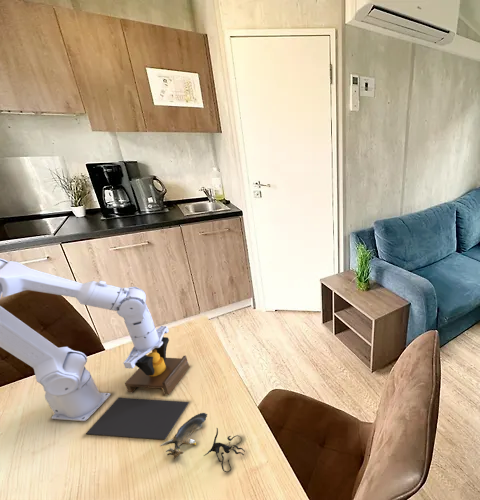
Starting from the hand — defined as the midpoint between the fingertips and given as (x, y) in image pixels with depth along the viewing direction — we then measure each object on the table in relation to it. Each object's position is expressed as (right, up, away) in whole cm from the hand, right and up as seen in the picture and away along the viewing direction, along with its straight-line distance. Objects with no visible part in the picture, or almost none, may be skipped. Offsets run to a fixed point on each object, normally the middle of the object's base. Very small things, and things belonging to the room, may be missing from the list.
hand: (156, 367), depth 83 cm
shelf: (0, -4, +2) cm, 5 cm away
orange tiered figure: (0, -1, +1) cm, 1 cm away
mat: (+2, -9, -9) cm, 13 cm away
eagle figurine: (+18, -12, -15) cm, 26 cm away
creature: (+29, -13, -17) cm, 36 cm away
